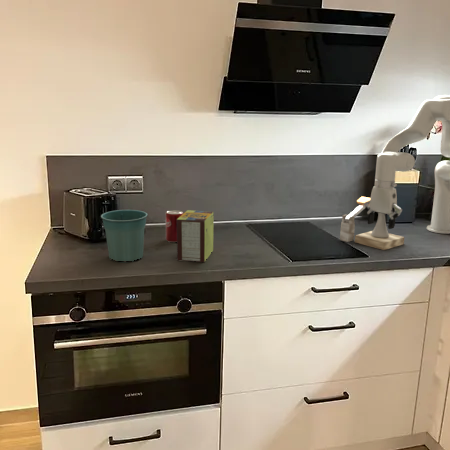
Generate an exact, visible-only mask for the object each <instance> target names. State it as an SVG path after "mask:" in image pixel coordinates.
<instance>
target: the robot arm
mask: <svg viewBox="0 0 450 450" xmlns="http://www.w3.org/2000/svg"><path fill="white" fill-rule="evenodd" d="M437 121H439V122H441V127H442V130H441V140H440V153H441V155H442V156H443V157H445V158H449V159H450V94H449V95H448V94H443V95H437V96H435V97H434V98H430V99H426V100H423V102H422V103H421V104H420V106H419V107H418V109H417V111H416V112H415V114H414V115H413V117H412V119H411V121H410V122H409V123H408V125H407V127H406V128H404V129H403V130H401V131H400V132H398V133H397V134H396V135H394V136H392V137H391V139H389V140H388V141H387V143H386V144H385V146H384V148H383V149H382V151H381V153H378V154H377V157H376V165H375V176H374V186H373V187H372V189H371V194H370V197H369V198H370V200H369V201H367V202H364V206H365V209H364V210H365V211H366V214H367V224H368V225H371V224H374V221H375V212H376V213H378V212H380V213H385V215H386V214H387V216H388V217H389V219H388V225H387V230H391V229H392V230H393V229H394V228H395V225H396V219H398V217H400V215H401V214H402V212H403V209H402V208H401V207H400V206H399V205H398V201H397V200H398V198H397V195H398V194H397V188H395V187H397V186H398V184H397V183H396V181H395V180H396V172H403V173H404V172H409V171H410V170H412V169H413V168H414V166H415V164H416V160H415V159H416V158H415V157H414V156H413V155H412V154H410V153H408V152H403V151H402V152H401V151H400V150H401V149H403V148H404V147H406V146H409V145H411V144H415V143H418V142H421V141H423V140H425V139H426V138H427V137H428V135H429V133H430V131H431V130H432V129H433V128H434V127H433V126H434V125H435V123H436V122H437ZM432 202H433V205H432V211H431V220H430V224H429V225H427V226H426V230H427V231H429V232H431V233H436V234H443V235H445V234H447V235H448V234H449V235H450V160H446V159H445V160H441V161H439V162H438V163H436V165H435V167H434V195H433V201H432ZM369 204H370V205H369Z"/></svg>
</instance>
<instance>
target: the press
mask: <svg viewBox="0 0 450 450" xmlns="http://www.w3.org/2000/svg"><path fill="white" fill-rule="evenodd" d="M348 215H349V214H342V215H341V216H342V218H341V222H340V230H339V231H340V233H339V241H342V242H346V243H350V242H353V241H354V243H357V244H359V245H364V246H367V247H371V248H375V249H377V250H378V249H379V250H383V251H386V250H389V249H392V248H397V247H398V246H403V245H405V236H403V235H397V234H393V233H389V237H388V238H379V237H373V236H372V235H371V233H372V231H373V230H370V231H366V232H363V233H359V234H355V228H356V227H355V225H356V223H355V216H350V217H349V222H346V221H345V218H346V217H347V216H348Z"/></svg>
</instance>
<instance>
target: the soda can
mask: <svg viewBox="0 0 450 450" xmlns="http://www.w3.org/2000/svg"><path fill="white" fill-rule="evenodd" d="M164 214H165V240H167V241H169V242H168V243H170V242H177V219H178V218H179V217H180V216H181V215H182V214H184V212H183V211H181V210H167V211H165V213H164ZM167 241H166V242H167Z"/></svg>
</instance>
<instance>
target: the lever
mask: <svg viewBox="0 0 450 450" xmlns="http://www.w3.org/2000/svg"><path fill="white" fill-rule="evenodd" d="M370 198H371V197H366V196H361V197H359V198H358V199H357V200H356V204H359V205H358V206H356V207H355V208H354V210H353V211H350V213H349V214H347V215H348V216H347V217H346V218H345V221H346V222H349V217H350V216H355V217H357V216H358V215H359V214H361V212H362V211H364V210H365V206H364V202H367V201H369V200H370ZM369 206H370V204H369Z"/></svg>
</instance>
